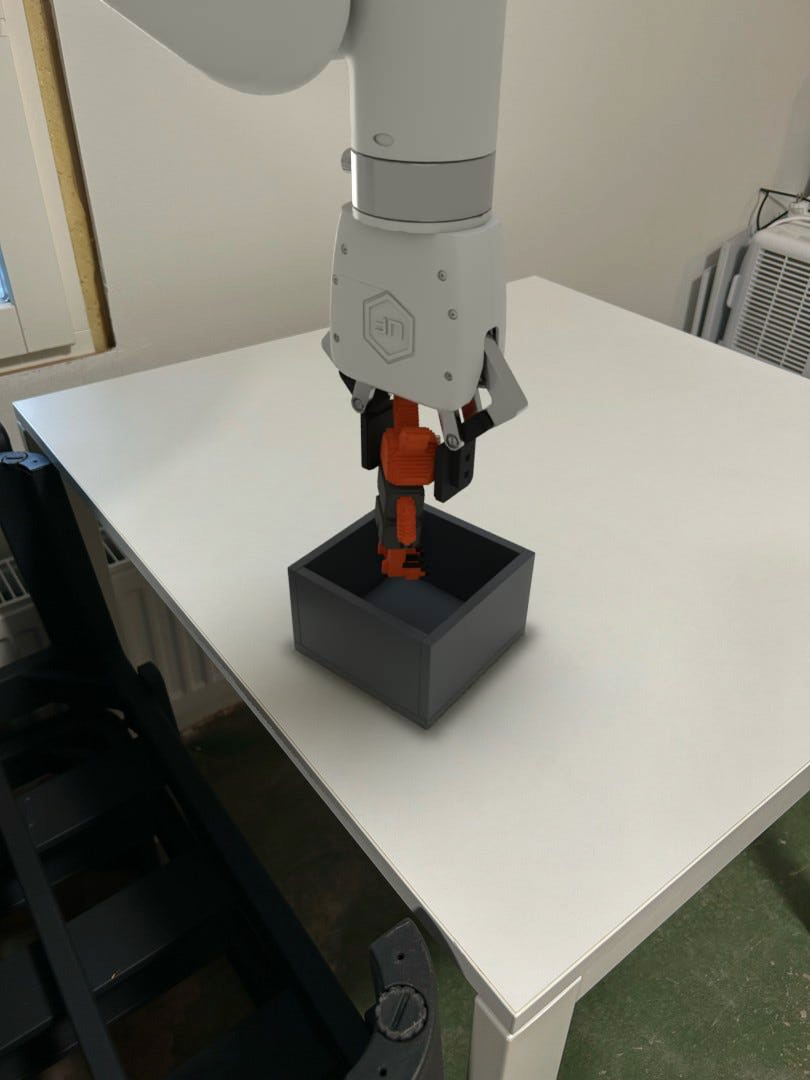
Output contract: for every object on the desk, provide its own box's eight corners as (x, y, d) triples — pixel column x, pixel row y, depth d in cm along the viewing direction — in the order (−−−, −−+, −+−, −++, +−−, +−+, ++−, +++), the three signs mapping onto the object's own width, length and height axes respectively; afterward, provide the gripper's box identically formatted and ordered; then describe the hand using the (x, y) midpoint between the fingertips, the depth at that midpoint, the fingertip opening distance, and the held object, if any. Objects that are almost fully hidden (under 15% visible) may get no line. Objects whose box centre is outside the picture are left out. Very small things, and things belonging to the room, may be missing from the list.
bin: (294, 648, 62) (286, 567, 58) (398, 568, 70) (399, 491, 66) (427, 730, 56) (430, 646, 51) (525, 632, 64) (535, 552, 59)
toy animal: (462, 597, 56) (488, 443, 48) (382, 600, 55) (397, 443, 47) (440, 526, 62) (461, 381, 55) (368, 528, 61) (379, 380, 54)
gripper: (257, 172, 45) (282, 456, 56) (522, 232, 37) (492, 553, 48) (348, 150, 50) (355, 416, 61) (601, 199, 42) (557, 498, 53)
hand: (415, 474), depth 54 cm, fingers closed on toy animal, 5 cm apart
